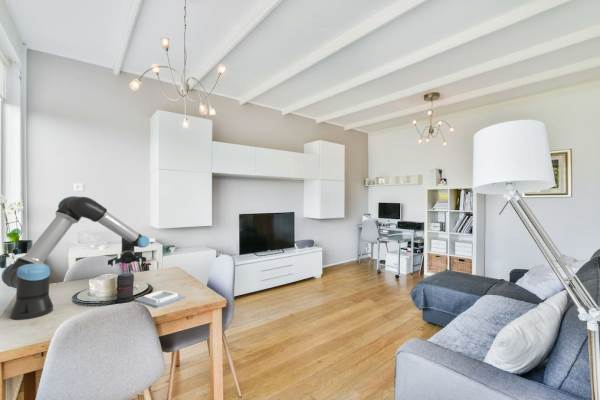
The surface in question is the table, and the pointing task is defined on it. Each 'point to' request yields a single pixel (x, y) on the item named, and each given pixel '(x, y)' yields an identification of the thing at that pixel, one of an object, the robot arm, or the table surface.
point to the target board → (160, 298)
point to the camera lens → (125, 287)
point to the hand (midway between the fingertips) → (127, 263)
